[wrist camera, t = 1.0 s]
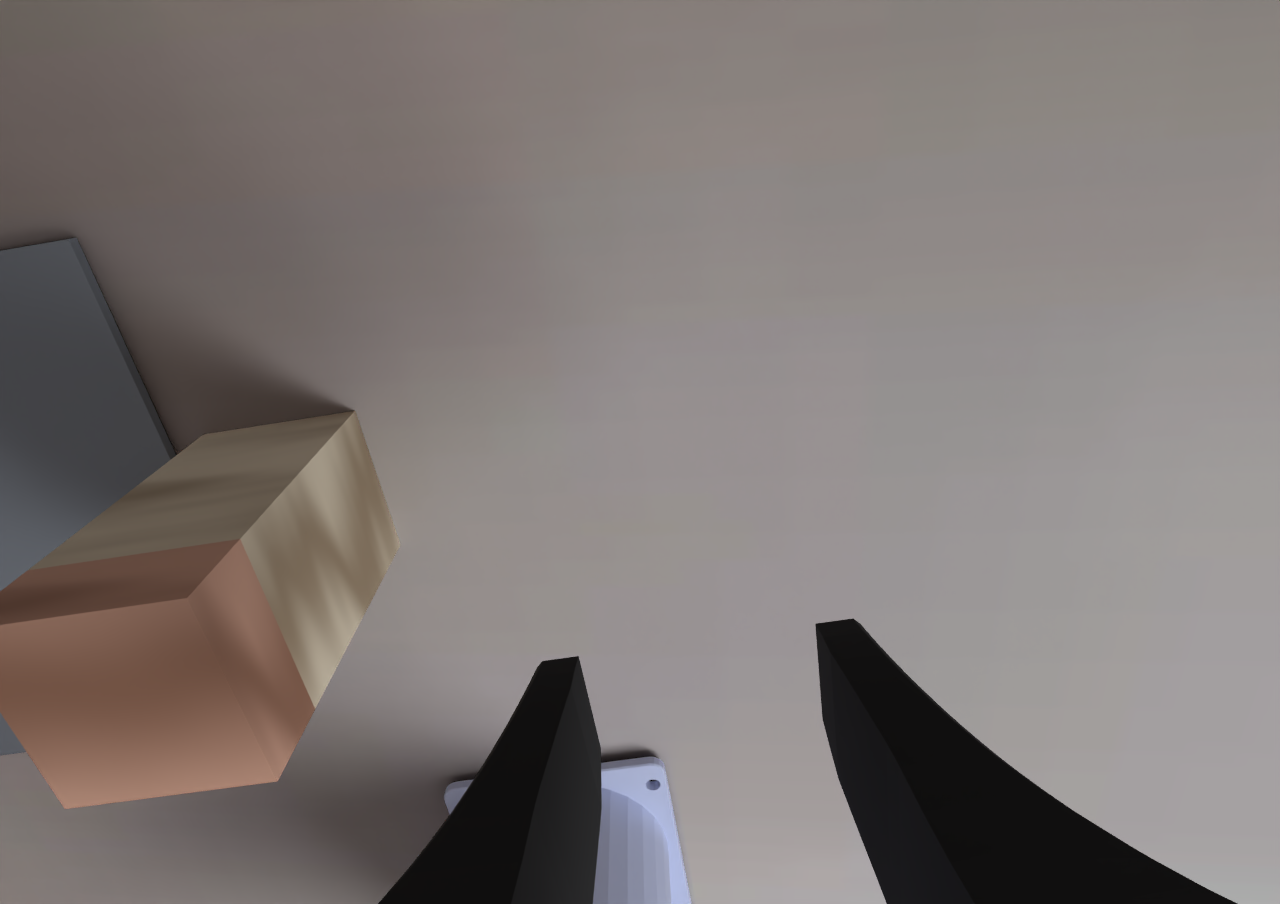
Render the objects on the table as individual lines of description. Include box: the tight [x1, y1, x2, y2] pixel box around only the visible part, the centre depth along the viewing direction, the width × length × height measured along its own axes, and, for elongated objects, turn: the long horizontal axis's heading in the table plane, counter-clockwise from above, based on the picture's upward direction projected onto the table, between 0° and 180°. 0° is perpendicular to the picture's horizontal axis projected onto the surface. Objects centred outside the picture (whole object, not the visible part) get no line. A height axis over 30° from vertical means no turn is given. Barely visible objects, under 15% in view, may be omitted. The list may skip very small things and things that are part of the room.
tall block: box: [0, 411, 400, 809], centre depth 18 cm, size 4×4×9 cm
